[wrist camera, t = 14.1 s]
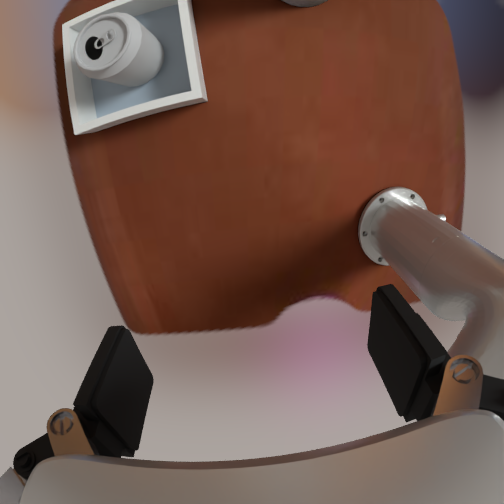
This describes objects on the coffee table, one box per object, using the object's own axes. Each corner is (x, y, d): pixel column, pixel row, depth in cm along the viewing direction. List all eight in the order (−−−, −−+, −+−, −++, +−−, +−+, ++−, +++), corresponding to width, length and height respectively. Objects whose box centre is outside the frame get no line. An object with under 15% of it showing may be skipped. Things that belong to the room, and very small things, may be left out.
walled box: (190, -3, 27) (183, -21, 21) (207, 101, 33) (202, 97, 28) (82, 33, 27) (62, 24, 21) (95, 132, 34) (74, 135, 28)
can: (105, 54, 28) (59, 36, 18) (154, 26, 27) (122, -6, 17) (123, 97, 31) (79, 92, 21) (174, 70, 31) (147, 49, 20)
